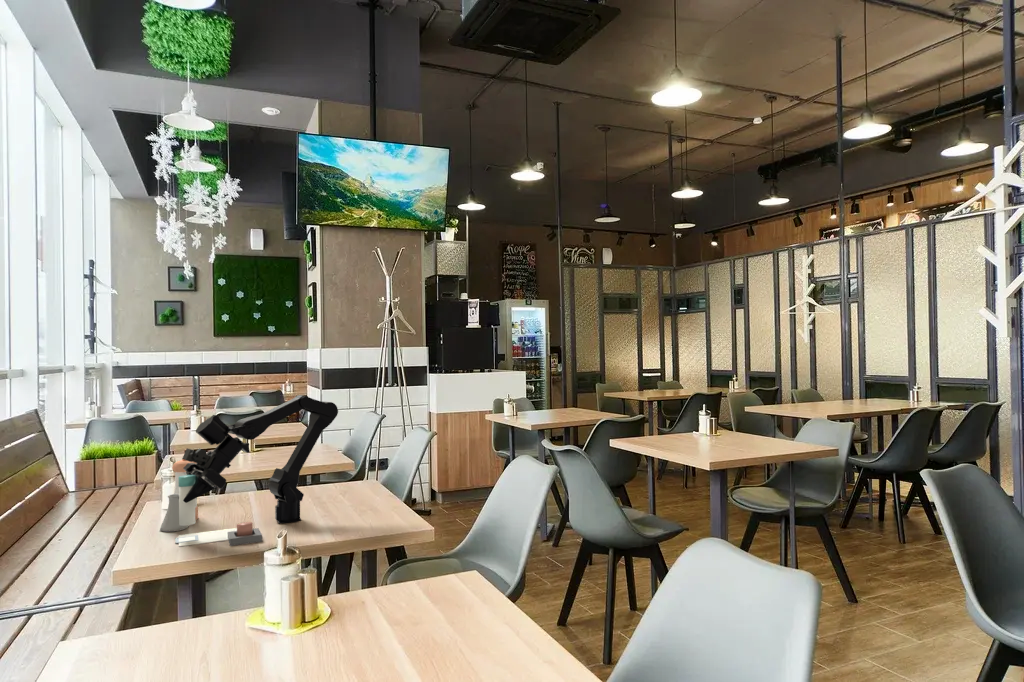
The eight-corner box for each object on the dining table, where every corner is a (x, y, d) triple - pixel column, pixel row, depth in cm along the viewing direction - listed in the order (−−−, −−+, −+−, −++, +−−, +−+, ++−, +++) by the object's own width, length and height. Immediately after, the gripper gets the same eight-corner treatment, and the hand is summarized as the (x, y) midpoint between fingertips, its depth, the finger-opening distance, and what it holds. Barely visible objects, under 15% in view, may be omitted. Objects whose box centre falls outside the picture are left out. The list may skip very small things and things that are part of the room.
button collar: (258, 534, 183) (258, 528, 183) (262, 541, 176) (262, 534, 176) (227, 538, 179) (227, 531, 179) (230, 545, 172) (230, 539, 172)
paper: (239, 528, 190) (239, 527, 190) (243, 538, 179) (243, 537, 179) (175, 536, 182) (175, 535, 182) (175, 547, 171) (175, 545, 171)
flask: (176, 533, 186) (176, 498, 186) (154, 532, 187) (154, 497, 187) (193, 526, 193) (193, 492, 193) (172, 525, 194) (172, 492, 194)
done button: (251, 532, 180) (251, 521, 180) (253, 535, 177) (253, 524, 177) (236, 534, 178) (236, 523, 178) (237, 537, 175) (237, 526, 175)
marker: (197, 521, 181) (197, 474, 181) (193, 525, 177) (193, 477, 177) (181, 522, 180) (181, 475, 180) (176, 526, 176) (176, 478, 176)
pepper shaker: (202, 516, 204) (202, 455, 205) (189, 522, 197) (189, 459, 198) (181, 516, 205) (181, 455, 205) (166, 522, 198) (166, 459, 198)
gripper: (190, 434, 188) (148, 478, 180) (213, 440, 175) (169, 487, 167) (219, 458, 193) (179, 502, 186) (243, 465, 180) (202, 512, 172)
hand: (181, 500), depth 177 cm, fingers closed on marker, 4 cm apart
